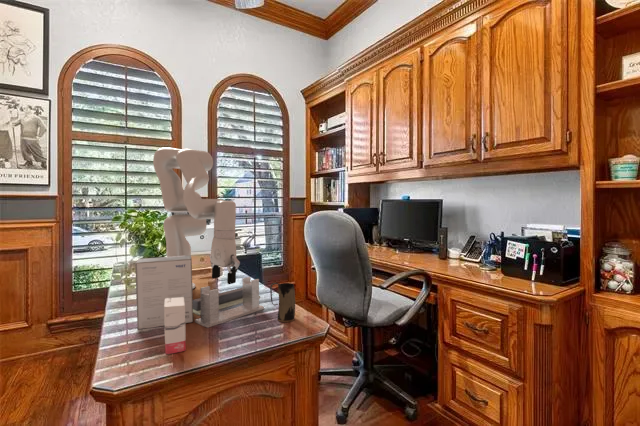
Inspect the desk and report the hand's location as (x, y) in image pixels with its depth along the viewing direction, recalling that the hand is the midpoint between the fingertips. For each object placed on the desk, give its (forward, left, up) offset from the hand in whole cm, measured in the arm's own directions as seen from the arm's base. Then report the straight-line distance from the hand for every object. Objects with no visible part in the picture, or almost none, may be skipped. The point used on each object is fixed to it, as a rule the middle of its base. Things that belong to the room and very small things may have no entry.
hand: (223, 280), depth 120 cm
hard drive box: (+2, -22, -9) cm, 24 cm away
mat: (+1, 0, -8) cm, 8 cm away
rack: (+13, -6, -8) cm, 17 cm away
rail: (+1, 0, -8) cm, 8 cm away
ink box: (+21, -29, -9) cm, 37 cm away
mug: (+29, +2, -9) cm, 30 cm away
